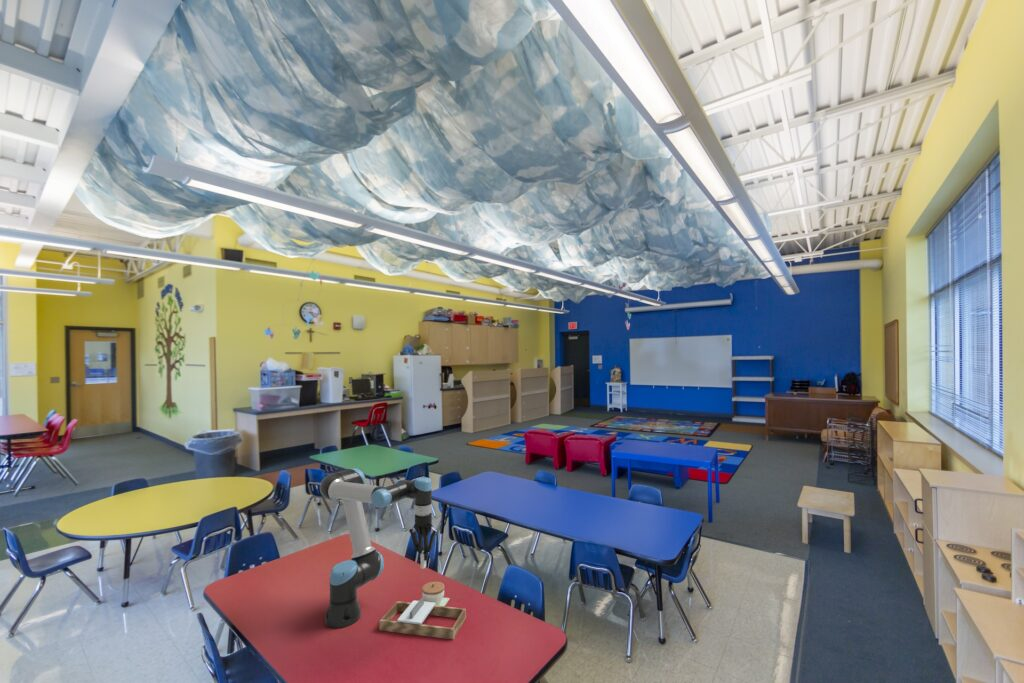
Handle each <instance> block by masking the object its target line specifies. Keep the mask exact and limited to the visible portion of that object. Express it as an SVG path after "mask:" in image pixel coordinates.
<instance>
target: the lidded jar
mask: <svg viewBox="0 0 1024 683" xmlns="http://www.w3.org/2000/svg"><path fill="white" fill-rule="evenodd" d="M445 586H446V585H445V584H444V583H443V582H441V581H430V582H427V583H425V584H423V586H421V587H422V588H421V594H422V598H424V602H434V603H436V605H437V606H438V605H439V604H440V602H441V601H442V600H443V597H444V596H445V589H446V588H445ZM444 598H445V597H444Z"/></svg>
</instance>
